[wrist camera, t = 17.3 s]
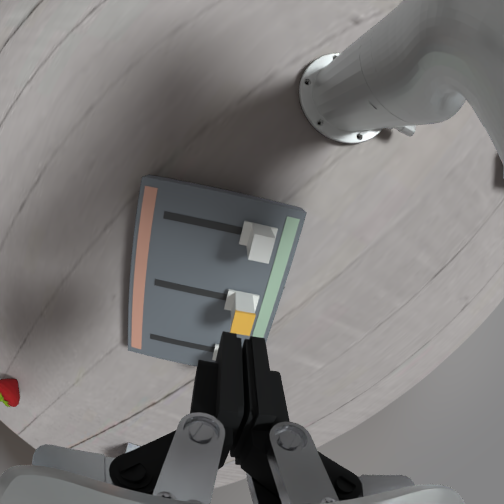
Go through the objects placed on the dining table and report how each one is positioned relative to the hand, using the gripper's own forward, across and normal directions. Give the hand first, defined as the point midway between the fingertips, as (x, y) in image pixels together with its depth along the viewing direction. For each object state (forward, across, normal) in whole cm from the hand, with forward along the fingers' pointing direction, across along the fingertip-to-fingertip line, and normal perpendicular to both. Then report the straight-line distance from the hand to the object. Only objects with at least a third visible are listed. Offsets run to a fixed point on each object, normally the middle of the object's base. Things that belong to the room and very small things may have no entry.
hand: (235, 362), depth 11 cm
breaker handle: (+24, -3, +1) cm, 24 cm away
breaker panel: (+27, +2, +10) cm, 29 cm away
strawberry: (+27, +46, +50) cm, 73 cm away
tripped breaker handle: (+24, -3, +10) cm, 26 cm away
